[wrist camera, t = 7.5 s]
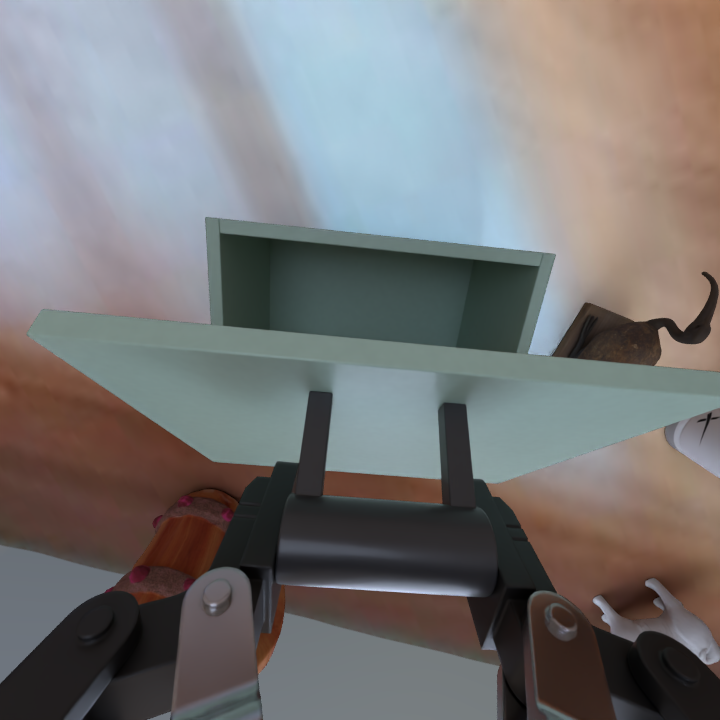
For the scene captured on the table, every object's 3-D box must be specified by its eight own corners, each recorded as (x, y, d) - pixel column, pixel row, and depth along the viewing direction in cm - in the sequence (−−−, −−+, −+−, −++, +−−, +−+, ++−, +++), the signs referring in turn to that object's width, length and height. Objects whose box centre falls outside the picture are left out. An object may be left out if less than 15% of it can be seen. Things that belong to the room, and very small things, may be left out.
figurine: (614, 254, 28) (719, 261, 20) (658, 274, 29) (777, 289, 21) (527, 395, 33) (583, 447, 24) (566, 410, 33) (634, 466, 25)
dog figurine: (561, 607, 43) (623, 719, 33) (664, 571, 41) (763, 680, 31) (574, 631, 45) (636, 745, 35) (673, 598, 42) (770, 709, 32)
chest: (263, 224, 27) (204, 216, 17) (481, 247, 28) (556, 254, 17) (263, 380, 32) (217, 450, 21) (450, 396, 33) (494, 472, 22)
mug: (164, 525, 38) (50, 696, 24) (175, 468, 35) (53, 623, 21) (290, 555, 40) (254, 731, 25) (309, 503, 37) (280, 667, 23)
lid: (40, 307, 8) (-130, 574, 6) (731, 372, 9) (868, 636, 6) (216, 448, 21) (189, 551, 18) (496, 470, 22) (509, 572, 19)
